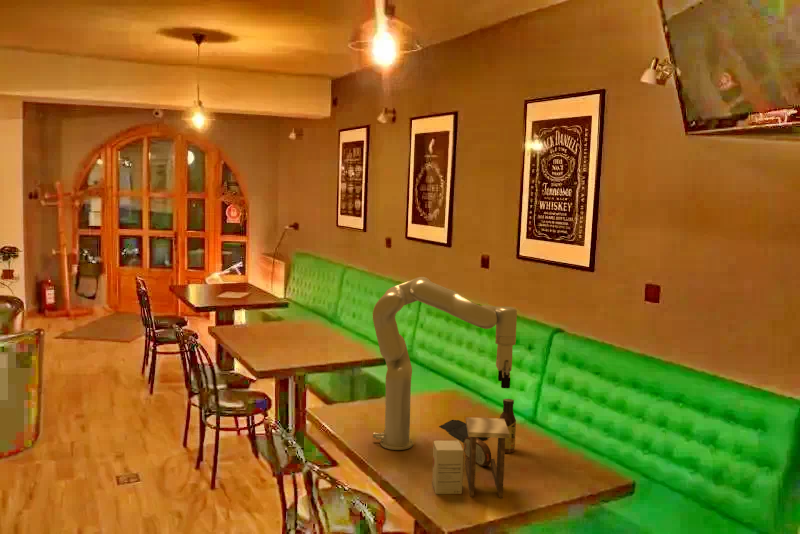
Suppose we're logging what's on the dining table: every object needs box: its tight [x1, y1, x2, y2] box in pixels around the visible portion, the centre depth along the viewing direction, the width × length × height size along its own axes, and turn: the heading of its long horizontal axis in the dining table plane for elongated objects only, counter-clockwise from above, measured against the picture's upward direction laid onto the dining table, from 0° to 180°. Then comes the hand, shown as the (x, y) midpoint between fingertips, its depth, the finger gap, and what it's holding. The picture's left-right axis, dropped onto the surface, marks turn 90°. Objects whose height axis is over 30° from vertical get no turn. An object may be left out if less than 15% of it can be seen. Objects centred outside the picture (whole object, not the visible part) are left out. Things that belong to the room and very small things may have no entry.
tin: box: [463, 437, 493, 467], centre depth 251 cm, size 15×3×8 cm, turn 28°
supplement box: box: [431, 440, 465, 495], centre depth 227 cm, size 9×9×15 cm
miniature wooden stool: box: [464, 416, 510, 499], centre depth 234 cm, size 13×27×22 cm, turn 178°
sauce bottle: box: [499, 398, 517, 454], centre depth 262 cm, size 7×6×20 cm
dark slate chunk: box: [438, 419, 490, 444], centre depth 280 cm, size 15×22×5 cm
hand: (503, 384), depth 259 cm, fingers open, 9 cm apart
